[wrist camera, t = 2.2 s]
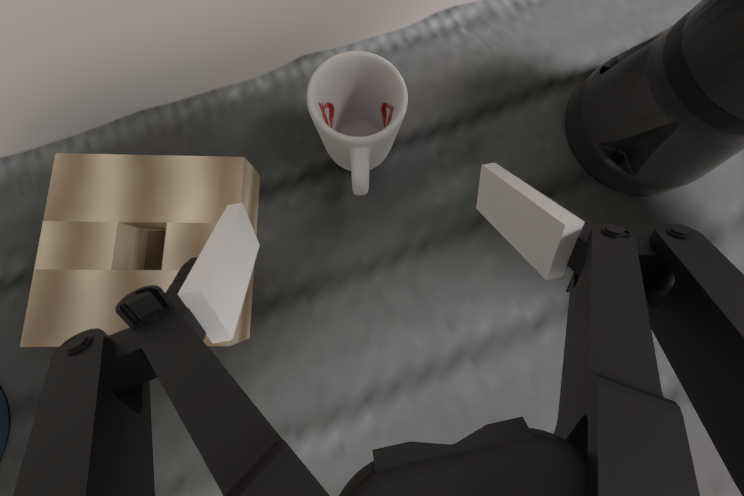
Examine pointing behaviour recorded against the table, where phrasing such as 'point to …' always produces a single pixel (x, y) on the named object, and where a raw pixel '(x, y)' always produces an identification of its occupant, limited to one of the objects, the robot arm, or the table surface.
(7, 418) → the canister
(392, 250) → the table surface
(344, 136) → the cup
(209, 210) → the opening block
